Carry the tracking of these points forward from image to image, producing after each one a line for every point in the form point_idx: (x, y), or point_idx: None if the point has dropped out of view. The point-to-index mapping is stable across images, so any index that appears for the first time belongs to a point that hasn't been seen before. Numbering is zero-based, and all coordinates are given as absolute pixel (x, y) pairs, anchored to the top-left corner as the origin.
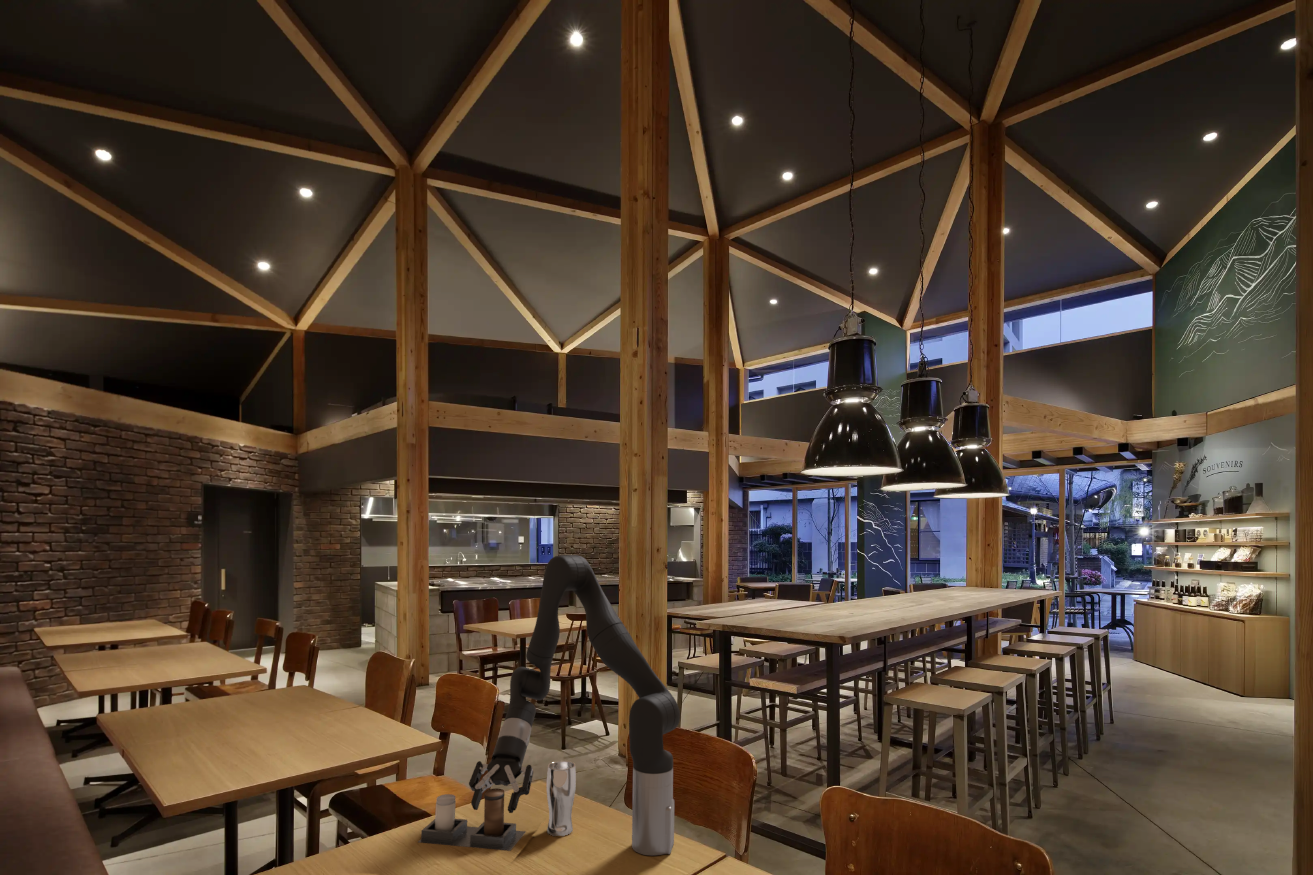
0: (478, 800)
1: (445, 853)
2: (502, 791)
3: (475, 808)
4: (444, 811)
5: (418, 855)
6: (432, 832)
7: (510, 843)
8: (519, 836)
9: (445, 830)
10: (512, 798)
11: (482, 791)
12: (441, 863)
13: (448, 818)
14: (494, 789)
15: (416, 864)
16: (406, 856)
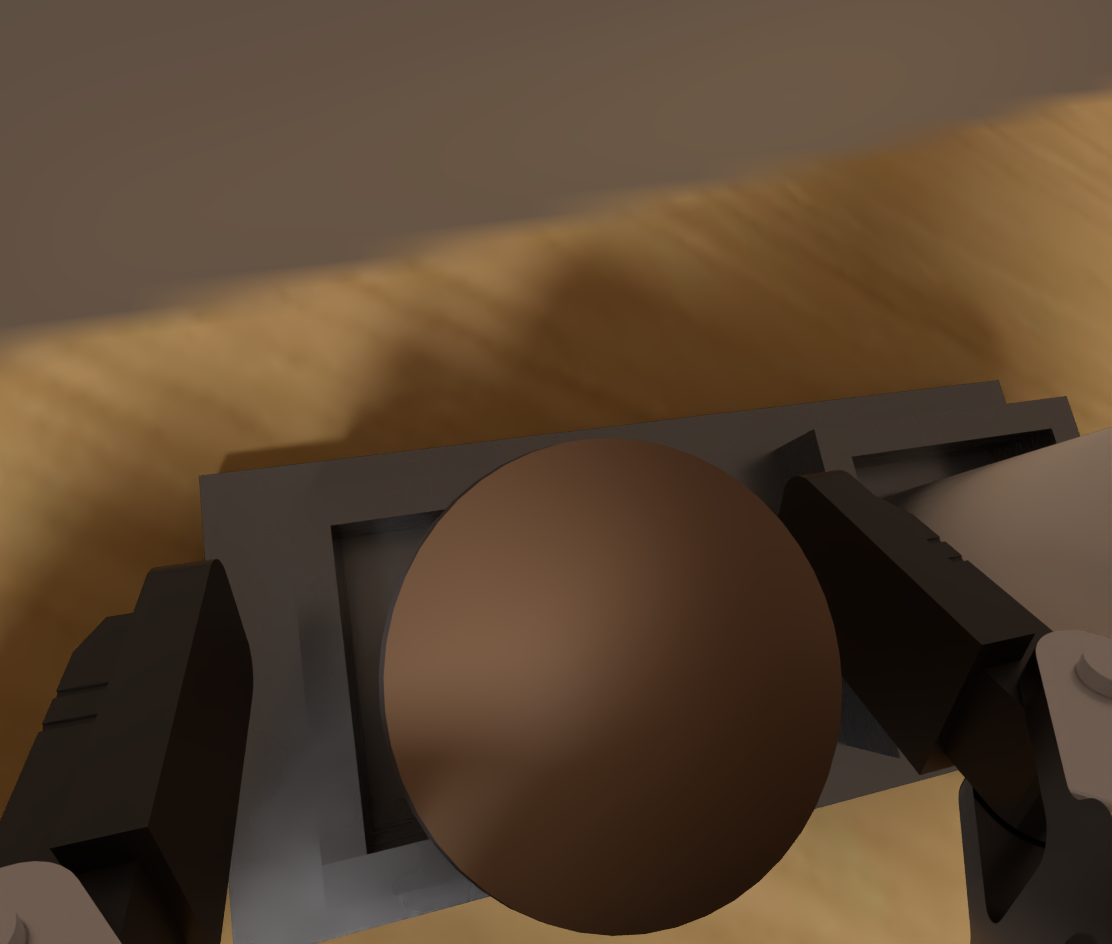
0: (845, 599)
1: (734, 360)
2: (451, 770)
3: (782, 520)
4: (1080, 441)
5: (874, 285)
6: (974, 411)
7: (271, 614)
8: (252, 803)
9: (918, 495)
10: (121, 704)
11: (968, 805)
12: (662, 225)
13: (985, 487)
14: (723, 820)
15: (798, 178)
16: (928, 255)
